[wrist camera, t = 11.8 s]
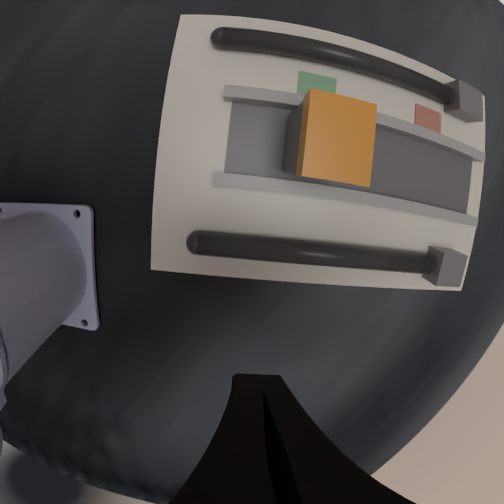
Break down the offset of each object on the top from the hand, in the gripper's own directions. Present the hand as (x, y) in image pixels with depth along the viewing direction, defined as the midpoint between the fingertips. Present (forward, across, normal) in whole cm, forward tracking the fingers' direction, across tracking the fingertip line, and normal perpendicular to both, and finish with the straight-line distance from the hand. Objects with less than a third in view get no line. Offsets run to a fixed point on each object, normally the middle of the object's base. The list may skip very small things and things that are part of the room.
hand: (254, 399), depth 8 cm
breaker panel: (+9, -5, -8) cm, 13 cm away
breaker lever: (+8, -2, -8) cm, 11 cm away
